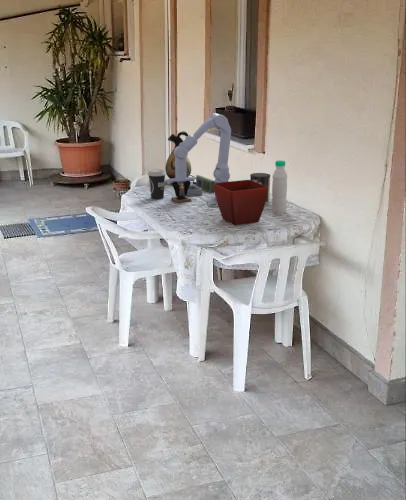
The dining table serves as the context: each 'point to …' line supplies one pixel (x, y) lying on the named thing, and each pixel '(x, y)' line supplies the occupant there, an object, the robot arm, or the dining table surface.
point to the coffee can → (262, 181)
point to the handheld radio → (204, 183)
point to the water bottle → (279, 188)
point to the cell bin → (194, 191)
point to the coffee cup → (157, 183)
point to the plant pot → (241, 201)
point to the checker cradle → (181, 200)
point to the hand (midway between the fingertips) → (181, 195)
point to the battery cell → (181, 192)
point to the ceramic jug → (171, 159)
